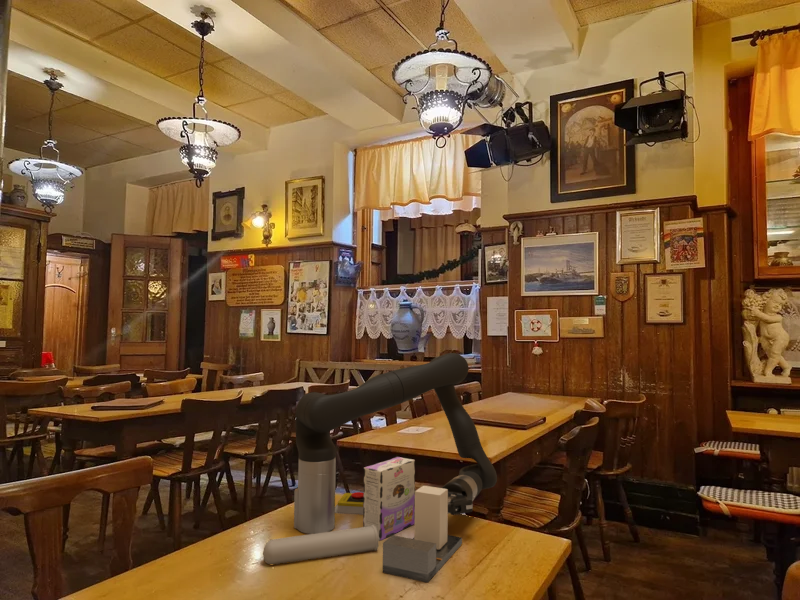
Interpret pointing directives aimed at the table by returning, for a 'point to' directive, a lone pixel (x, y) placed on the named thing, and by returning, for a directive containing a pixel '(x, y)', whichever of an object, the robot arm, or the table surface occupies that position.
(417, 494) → the block
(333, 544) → the tube
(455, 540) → the grey base block
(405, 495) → the candy box
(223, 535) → the table surface
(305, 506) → the robot arm
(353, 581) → the table surface
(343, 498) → the emergency button
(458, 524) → the table surface
